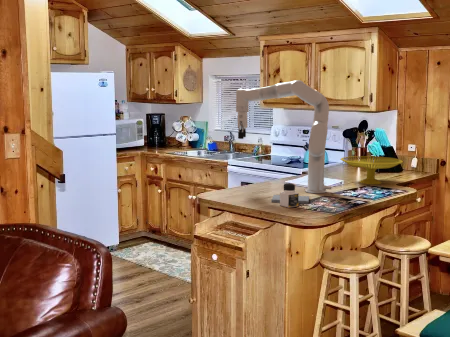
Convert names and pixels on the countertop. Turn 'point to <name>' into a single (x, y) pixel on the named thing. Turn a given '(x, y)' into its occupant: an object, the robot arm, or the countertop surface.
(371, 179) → the cake stand
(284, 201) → the medicine bottle
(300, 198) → the serving board
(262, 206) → the countertop surface
